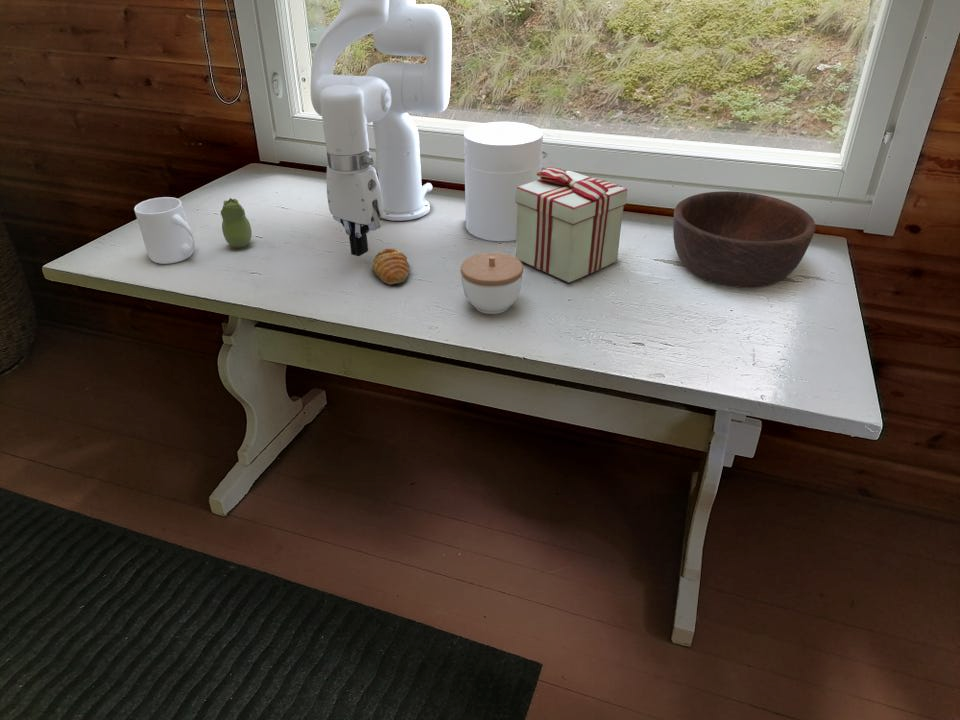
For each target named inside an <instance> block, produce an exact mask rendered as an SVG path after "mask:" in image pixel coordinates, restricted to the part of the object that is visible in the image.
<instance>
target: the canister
mask: <svg viewBox="0 0 960 720" xmlns="http://www.w3.org/2000/svg"><path fill="white" fill-rule="evenodd" d="M543 141H544V133H543V130H542V129H540V128H539V127H537V126H536V125H535V126H534V125H532V124H528V123H524V122H514V121H491V122H484V123H478V124H475V125H472V126H470V127H468V128H467V129H465V130H464V131H463V153H464V154H463V155H464V199H465V201H464V204H465V206H464V207H465V229H466V230H467V231H468V233H469V234H470V235H472V236H474V237H475V238H479V239H482V240H486V241H492V242H493V241H494V242H513V241H516V234H517V203H516V202H515V199H516V187H518V186H522V185H525V184H528V183H531V182H534V181H537V180H539V179H540V178H539V177H540V176H537V173H538V172H540V171H542V170H543V169H542V167H543V161H542V160H543V159H542V158H543V157H542V156H543V147H544V146H543V145H544V143H543Z"/></svg>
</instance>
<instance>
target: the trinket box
mask: <svg viewBox="0 0 960 720" xmlns="http://www.w3.org/2000/svg"><path fill="white" fill-rule="evenodd" d="M460 274H461V286H462V289H463V290H462V291H463V293H464V296H465V298H466V299H467V301H468V302H469V303H470V304H471V305H472V306H473V307H474V308H475V309H476V310H477V311H478V312H480V313H483V314H486V315H498V314H502V313H504V312H506V311H507V310H508V309H509V308H510V307H511V306H512V305H514V304H515V302H516V301H517V299H518V298H519V295H520V294H521V290H522V284H523V276H524V275H523V274H524V264H523V262H522V261H520V260H519V259H517V258H516V256H513V255H511V254H507V253H502V252H482V253H478V254H473V255H471V256H469V257H467V258H466V259H465V260H463V261H462V263H461V264H460Z"/></svg>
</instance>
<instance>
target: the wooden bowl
mask: <svg viewBox="0 0 960 720" xmlns="http://www.w3.org/2000/svg"><path fill="white" fill-rule="evenodd" d="M672 219H673V220H672V221H673V225H672V226H673V230H672V231H673V243H674V248H675V252H676V254H677V255H676V256H677V257H678V259H679V261H680V263H681V264H682V266H684V268H685V269H686V270H687V271H688V272H690V273H691V274H692V275H694V276H696V277H698V278H700V279H702V280H704V281H708V282H711V283H714V284H718V285H721V286H727V287H733V288H744V289H745V288H746V289H747V288H750V289H751V288H761V287H767V286H771V285H774V284H777V283H779V282H781V281H783V280H784V279H785V278H787V277H788V276H789V275H790V274H792V273H793V271H794V270H795V269H796V268H797V267H798V265H799V264H800V262H801V261H802V260H803V258H804V256H805V255H806V252H807V251H808V248H809V246H810V244H811V242H812V239H813V238H814V234H815V231H816V222H815V220H814V218H813V217H812V216H811V215H810V214H809V213H808V212H807V211H806V210H804V209H802V208H801V207H799V206H797V205H795V204H794V203H791V202H789V201H786V200H784V199H780V198H777V197H773V196H769V195H765V194H759V193H753V192H745V191H734V190H733V191H729V190H727V191H724V190H723V191H722V190H721V191H709V192H702V193H698V194H694V195H691V196H688V197H686V198H684V199H683V200H681V201H679V202H678V204H676V206H675V208H674V209H673V218H672Z"/></svg>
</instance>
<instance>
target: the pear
mask: <svg viewBox="0 0 960 720" xmlns="http://www.w3.org/2000/svg"><path fill="white" fill-rule="evenodd" d="M220 215H221V218H222V223H221V230H222V235H223V237H224V240H225V241H226V243H227V244H228V245H229V246H231V247H232V248H238V249H239V248H244V247H246V246H247V245H249V244H250V242H251V240H252V237H253V235H252V233H253V232H252V231H253V230H252V226H251V223H250V221H249V219H248V218H247V216H246V212H245V209H244V207H243V205H241V204H240V203H239V201H238V199H236V198H231V197H229V199H227V200H223V205H222V209H221V210H220Z"/></svg>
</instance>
